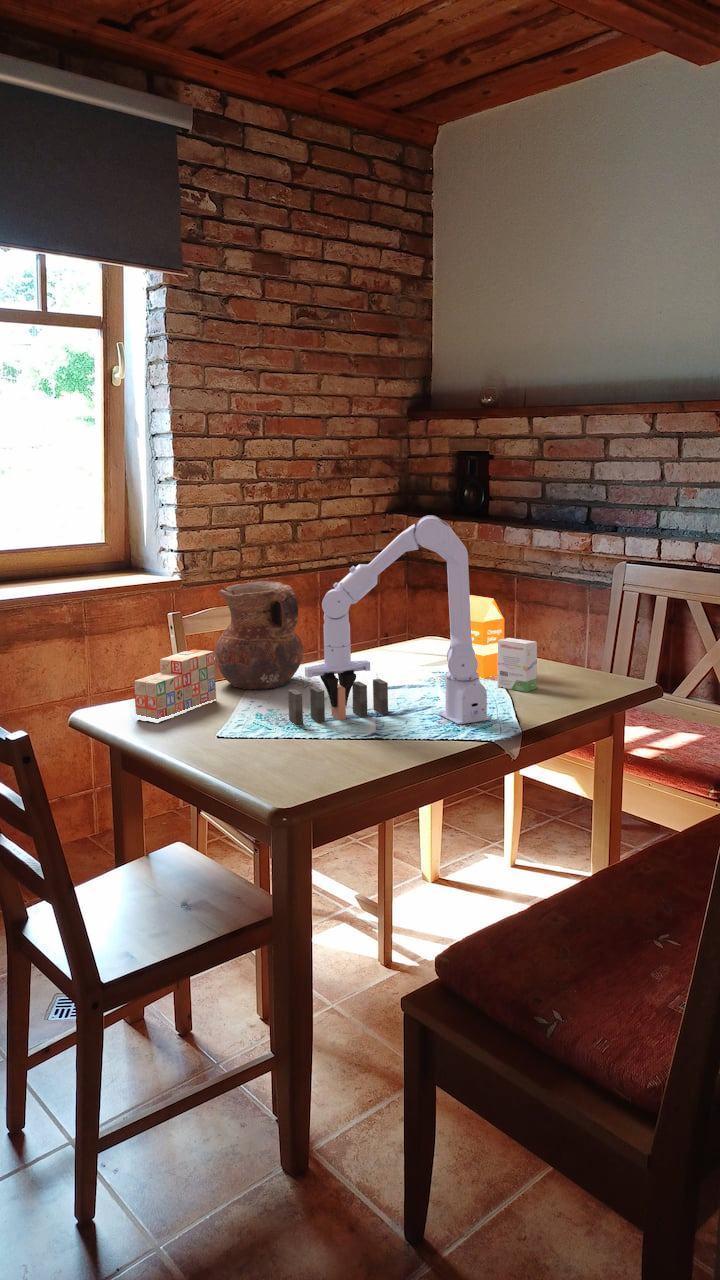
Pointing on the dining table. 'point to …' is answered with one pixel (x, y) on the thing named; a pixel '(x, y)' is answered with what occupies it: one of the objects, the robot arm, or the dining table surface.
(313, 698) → the tile
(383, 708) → the tile
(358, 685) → the tile
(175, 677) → the stack of blocks
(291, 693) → the tile
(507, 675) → the ink box
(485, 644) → the orange juice
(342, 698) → the tile
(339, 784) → the dining table surface
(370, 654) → the dining table surface
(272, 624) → the jug
